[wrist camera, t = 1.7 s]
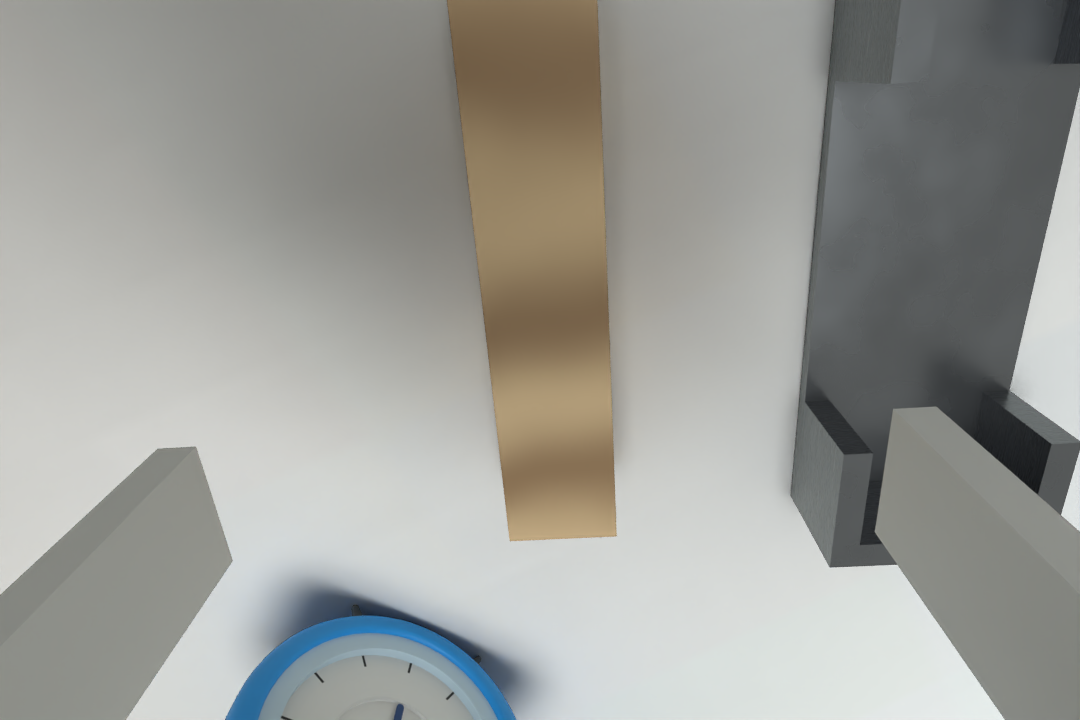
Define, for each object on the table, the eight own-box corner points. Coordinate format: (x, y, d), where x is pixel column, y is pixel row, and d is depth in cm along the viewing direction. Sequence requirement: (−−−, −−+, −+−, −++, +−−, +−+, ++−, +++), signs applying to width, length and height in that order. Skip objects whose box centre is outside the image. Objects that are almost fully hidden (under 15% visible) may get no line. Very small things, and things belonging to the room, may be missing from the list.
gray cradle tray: (844, -94, 21) (918, -135, 16) (1112, -119, 20) (1260, -169, 16) (790, 495, 29) (829, 567, 25) (976, 486, 29) (1048, 558, 25)
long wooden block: (469, 13, 22) (446, -1, 18) (588, 3, 22) (596, -14, 17) (517, 467, 29) (509, 541, 25) (607, 463, 29) (616, 536, 25)
